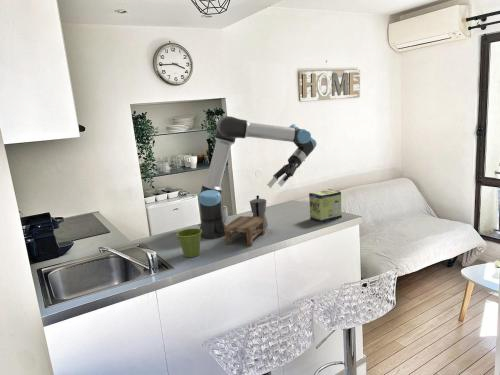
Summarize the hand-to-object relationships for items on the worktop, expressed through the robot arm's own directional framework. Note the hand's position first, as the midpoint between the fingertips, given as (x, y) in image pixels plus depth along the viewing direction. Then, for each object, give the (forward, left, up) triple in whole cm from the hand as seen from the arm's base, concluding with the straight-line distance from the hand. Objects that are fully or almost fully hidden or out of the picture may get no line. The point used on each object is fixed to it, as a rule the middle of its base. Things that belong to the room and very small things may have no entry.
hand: (274, 185), depth 211 cm
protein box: (+25, +16, -23) cm, 38 cm away
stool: (-8, -26, -23) cm, 35 cm away
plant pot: (-25, -52, -23) cm, 62 cm away
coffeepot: (-8, -6, -23) cm, 25 cm away
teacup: (-37, +4, -23) cm, 44 cm away
